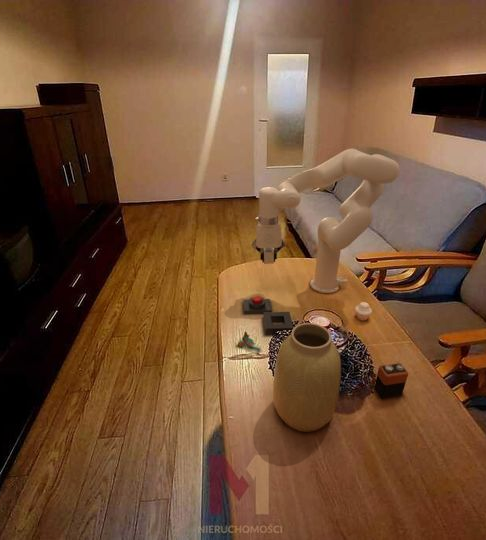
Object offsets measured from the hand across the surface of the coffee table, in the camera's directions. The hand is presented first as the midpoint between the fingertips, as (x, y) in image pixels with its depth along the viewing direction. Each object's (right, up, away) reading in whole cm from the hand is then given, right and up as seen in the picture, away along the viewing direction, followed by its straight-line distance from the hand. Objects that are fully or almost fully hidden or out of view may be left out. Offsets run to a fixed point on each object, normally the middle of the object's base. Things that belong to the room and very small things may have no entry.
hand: (268, 260), depth 146 cm
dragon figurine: (-9, -31, -25) cm, 41 cm away
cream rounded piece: (+35, -23, -12) cm, 43 cm away
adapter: (+2, -25, -16) cm, 30 cm away
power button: (-5, -17, -7) cm, 19 cm away
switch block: (-5, -20, -5) cm, 21 cm away
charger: (0, 0, 0) cm, 0 cm away
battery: (+32, -40, -43) cm, 67 cm away
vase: (+6, -44, -49) cm, 66 cm away
